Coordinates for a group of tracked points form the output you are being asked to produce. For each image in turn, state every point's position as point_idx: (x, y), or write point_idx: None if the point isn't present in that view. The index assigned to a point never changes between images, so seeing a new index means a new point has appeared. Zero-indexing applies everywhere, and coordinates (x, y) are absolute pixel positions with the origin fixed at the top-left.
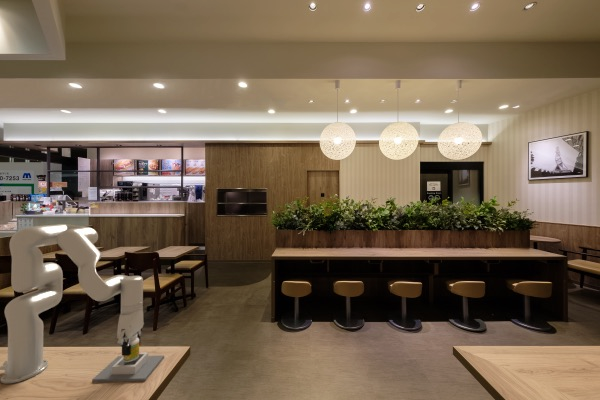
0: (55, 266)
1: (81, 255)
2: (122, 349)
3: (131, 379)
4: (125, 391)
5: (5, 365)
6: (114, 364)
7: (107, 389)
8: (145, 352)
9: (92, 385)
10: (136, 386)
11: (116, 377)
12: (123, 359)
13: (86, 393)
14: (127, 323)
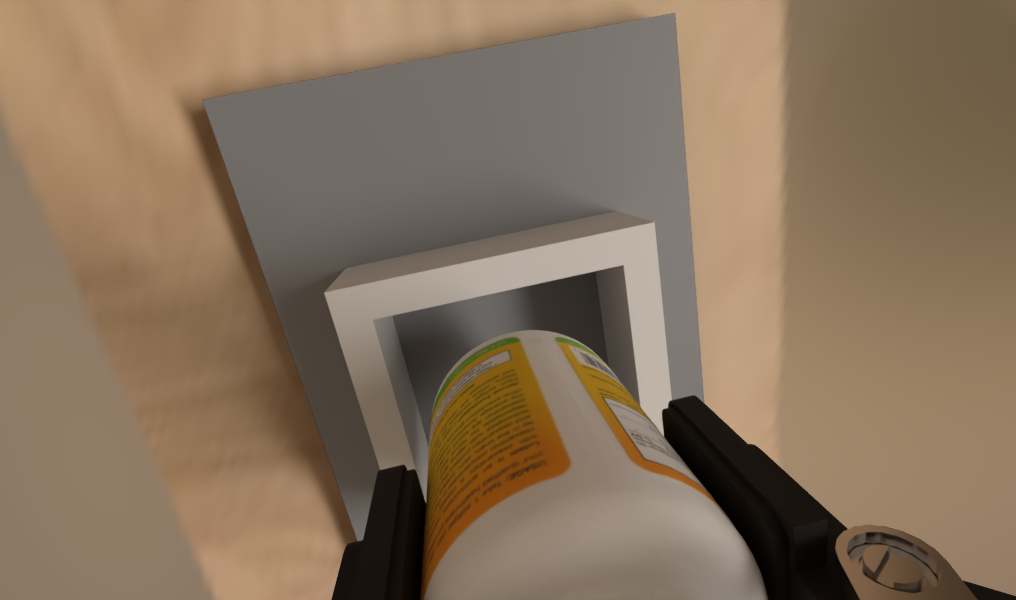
0: None
1: None
2: (364, 565)
3: (352, 513)
4: (235, 554)
5: None
6: (509, 128)
7: (195, 384)
8: None
9: (179, 165)
10: (314, 588)
11: (320, 366)
12: (446, 380)
13: (65, 220)
14: None
